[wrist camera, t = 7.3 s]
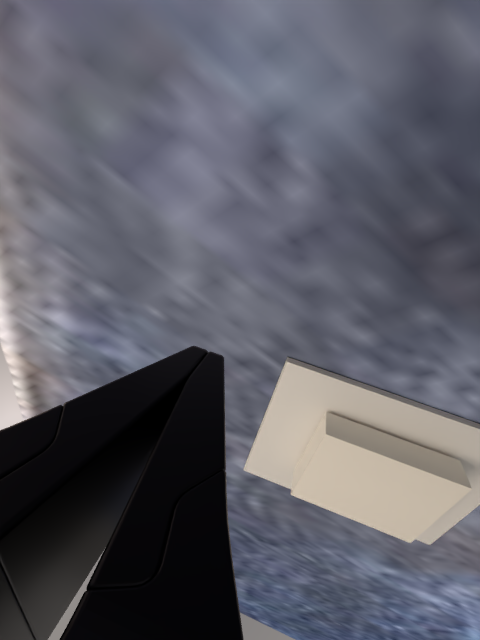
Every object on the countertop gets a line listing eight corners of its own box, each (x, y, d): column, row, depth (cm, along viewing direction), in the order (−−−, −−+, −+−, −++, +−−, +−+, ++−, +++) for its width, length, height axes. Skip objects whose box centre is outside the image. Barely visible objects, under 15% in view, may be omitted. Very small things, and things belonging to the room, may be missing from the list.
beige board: (538, 444, 20) (544, 451, 20) (428, 537, 28) (429, 545, 27) (287, 356, 23) (286, 361, 22) (245, 464, 30) (243, 470, 29)
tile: (326, 409, 23) (458, 457, 22) (293, 468, 27) (404, 511, 26) (325, 434, 21) (472, 488, 20) (290, 494, 25) (410, 543, 24)
